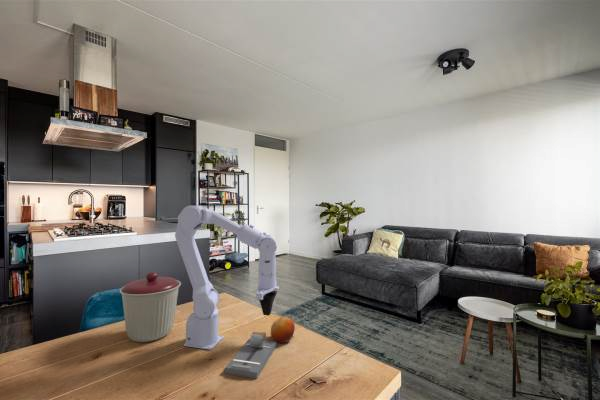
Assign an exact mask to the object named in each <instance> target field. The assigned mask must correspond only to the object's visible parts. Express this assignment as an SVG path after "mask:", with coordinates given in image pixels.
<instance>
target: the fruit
mask: <svg viewBox="0 0 600 400" xmlns="http://www.w3.org/2000/svg"><path fill="white" fill-rule="evenodd" d="M295 330H296V328H295V323H294V321H293V320H292V319H291V318H290V317H288V316H282V317H279V318H278V319H277V320H275V321H273V323H272V324H271V327H270V337H271V338H272V339H273V340H274V341H275V342H276V343H282V344H284V343H290V341H291V339H292V338H294V333H295Z"/></svg>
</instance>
